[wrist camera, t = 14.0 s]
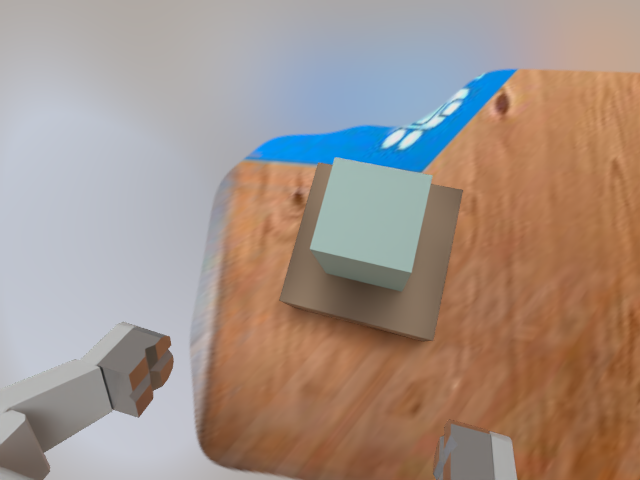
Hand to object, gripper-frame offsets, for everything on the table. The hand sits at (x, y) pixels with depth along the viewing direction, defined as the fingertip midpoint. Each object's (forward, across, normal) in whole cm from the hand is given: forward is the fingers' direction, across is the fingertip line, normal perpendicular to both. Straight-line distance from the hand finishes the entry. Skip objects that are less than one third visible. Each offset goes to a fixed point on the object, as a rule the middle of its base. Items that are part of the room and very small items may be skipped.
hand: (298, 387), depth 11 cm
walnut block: (+19, 0, +8) cm, 21 cm away
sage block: (+16, 0, +4) cm, 16 cm away
